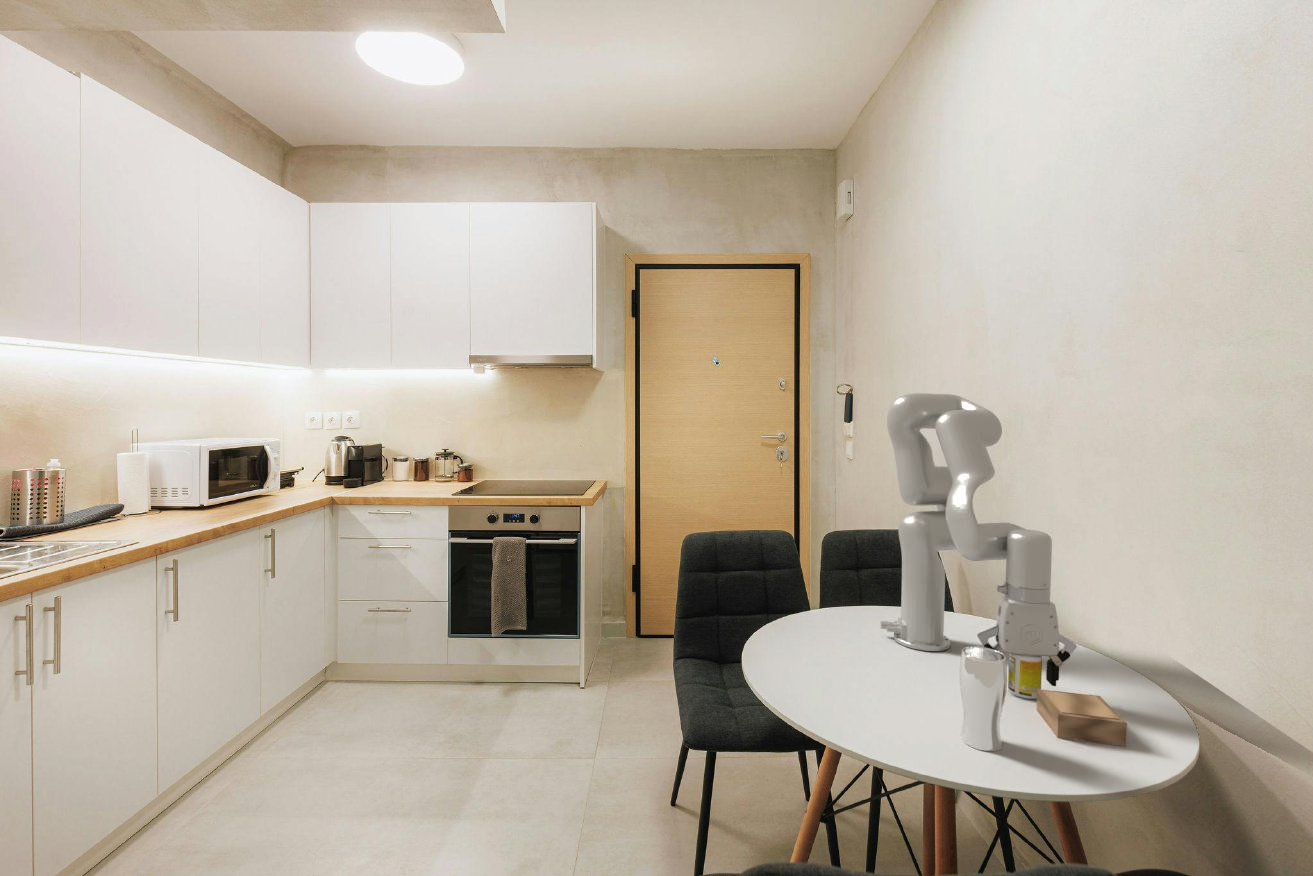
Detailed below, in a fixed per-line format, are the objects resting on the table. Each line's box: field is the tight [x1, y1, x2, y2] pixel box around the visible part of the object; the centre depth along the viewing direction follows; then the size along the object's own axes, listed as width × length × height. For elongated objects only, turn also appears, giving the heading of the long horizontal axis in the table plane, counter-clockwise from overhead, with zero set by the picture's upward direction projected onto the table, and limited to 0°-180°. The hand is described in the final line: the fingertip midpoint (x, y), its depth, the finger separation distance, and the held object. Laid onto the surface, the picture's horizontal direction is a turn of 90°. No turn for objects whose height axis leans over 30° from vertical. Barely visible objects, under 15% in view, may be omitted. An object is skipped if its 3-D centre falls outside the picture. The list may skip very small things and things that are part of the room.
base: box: [1036, 688, 1128, 747], centre depth 106 cm, size 10×10×4 cm
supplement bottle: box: [1007, 652, 1043, 700], centre depth 119 cm, size 6×6×10 cm
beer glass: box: [959, 645, 1008, 752], centre depth 101 cm, size 7×7×15 cm
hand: (1024, 680), depth 119 cm, fingers open, 8 cm apart
